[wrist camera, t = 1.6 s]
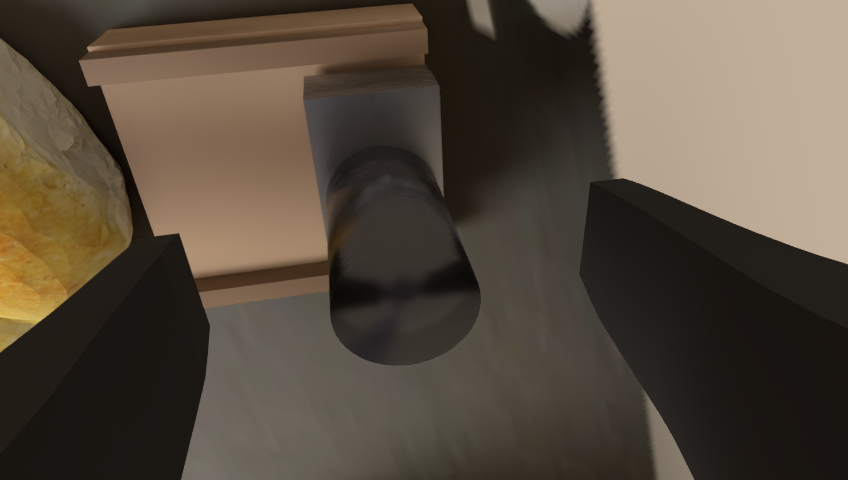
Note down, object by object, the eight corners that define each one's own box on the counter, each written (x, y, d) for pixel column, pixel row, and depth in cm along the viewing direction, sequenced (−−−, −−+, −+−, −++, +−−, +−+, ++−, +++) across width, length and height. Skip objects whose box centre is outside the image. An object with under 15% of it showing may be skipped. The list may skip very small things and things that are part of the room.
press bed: (425, 236, 17) (438, 279, 15) (187, 267, 16) (173, 315, 14) (412, 3, 13) (426, 23, 12) (108, 29, 13) (77, 55, 11)
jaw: (435, 244, 15) (485, 396, 11) (333, 257, 15) (342, 420, 10) (426, 64, 12) (487, 168, 8) (304, 76, 12) (300, 191, 8)
